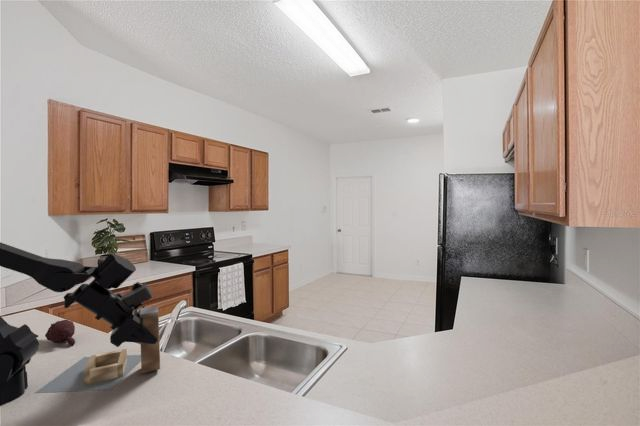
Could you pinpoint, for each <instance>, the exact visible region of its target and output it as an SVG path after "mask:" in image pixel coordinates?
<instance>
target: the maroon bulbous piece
mask: <svg viewBox="0 0 640 426" xmlns="http://www.w3.org/2000/svg"><path fill="white" fill-rule="evenodd" d="M75 330H76V329H75V324H74V321H72V320H69V319H62V320H58V321H55V323H51V324H50V327H48V329H47V332H45V335H44V337H45V338H46V340H47V341H49V342H51V343H56V344H58V343H59V344H61V343H65V342H66V343H67V344H68V345H69V346H71V347H72V346H74V345H75V344H76V340H75V338H74V335H75V333H76V331H75Z"/></svg>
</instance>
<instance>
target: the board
mask: <svg viewBox="0 0 640 426" xmlns="http://www.w3.org/2000/svg"><path fill="white" fill-rule="evenodd" d="M90 357H91V356H84V357H82V358H81V359H80V360H78V361H77V362H75V363H74V364H73V365H71V366H70V367H68V368H67V369H66V370H64V371H63V372H62V373H60V374H59V375H57V376H56V377H55V378H53V379H52V380H50V381H49V382H48V383H46V384H45V385H43V386H42V387H41V388H39V389H38V390H37V391H35V392H34V394H42V393H43V394H44V393H46V394H47V393H65V392H67V393H69V392H89V391H90V392H91V391H92V392H93V391H95V392H96V391H113V389H114V388H115V387H116V386H118V384H119V383H121V382H122V380H124V378H125V377H126V376H128V374H130V373H131V371H133V370H134V369H135V368H136V366H138V364H139V363H140V362H141V354H127V362H126V366H125V371H124V376H121V377H117V378H112V379H108V380H103V381H99V382H95V383H90V384H86V385H84V376H83V372H84V370H85V368H86V366H87V363H88V361H89V359H90Z"/></svg>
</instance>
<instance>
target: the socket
mask: <svg viewBox="0 0 640 426" xmlns="http://www.w3.org/2000/svg"><path fill="white" fill-rule="evenodd" d="M127 355H128V352H127V348H123V349H118V350H114V351H108V352H103V353H97V354H93V355H92V354H91V356H89V357H90V359H89V361H88V363H87V366H86V368H85V370H84V372H83V376H84V385H86V384H90V383H95V382H99V381H103V380H108V379H112V378H117V377H121V376H124V371H125V366H126V362H127Z"/></svg>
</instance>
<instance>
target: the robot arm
mask: <svg viewBox="0 0 640 426" xmlns="http://www.w3.org/2000/svg"><path fill="white" fill-rule="evenodd" d="M0 267H2V268H4V269H8V270H11V271H13V272H17V273H20V274H23V275H26V276H28V277H30V278H32V279H33V280H34V281H35V282H36V283H37V284H38V285H41V286H42V287H44V288H46V289H48V290H50V291H52V292H55V293H64V292H67V293H66V294H65V295H64V296H63V299H64V309H68V308H69V307H70V306H72V305H73V304H74V303H77V304H79V305H80V306H81V307H83V308H84V309H86V310H87V311H89V312H91V313H92V314H94V315H95V317H94V318H95V319H96V320H98V321H100V319H102V320H104V321H105V322H106V323H108V324H110V329H111V330H112V331H111V333H110V336H109V337H110V338H109V341H110V344H112V345H114V346H115V347H117V348H119V347H121V345H122V344H123V343H138V344H139V343H140V344H141V343H149V344H155V343H156V342H157V341H158V340H157V339H156V338H155V336H154V335H152V334H151V333H150V332H149V331H148V330H147V329H146V328H145V327H144V326H143V317H142V318H141V319H140V310H141V308H146V307H145V306H143V305H144V303H145V302H147V301H150V300H151V299H152V298H153V292H152V291H151V289H150V286H149V285H148V283H141V282H140V281H137V282H135V283H133V284H132V285H131V287H132V288H131V290H129V292H127V293H126V294H123V293H121V292H116V293H115V292H114V291H111V290H110V289H118V288H119V287H120V286H122V285H123V284H124V282H126V280H128V278H130V277H131V276H132V275H133V274H134V273H135V272H137V268H136V266H135V265H134V263H133V262H131V261H130V260H129V259H127V258H124V257H122V256H120V255H117V254H115V252H112V253H109V254H108V255H107V256H106V257H105V259H104V260H103V261H102V262H101V263H100V264H98V266H84V265H83V264H82V263H80V262H78V261H71V260H67V259H66V260H65V259H58V258H49V257H44V256H40V255H38V254H35V253H32V252H29V251H26V250H23V249H20V248H18V247H15V246H11V245H9V244H6V243H3V242H1V241H0ZM92 278H94V279H93V280H91V282H89V283H85V282H86V281H88V280H90V279H92ZM80 284H81V285H80ZM78 285H80V286H79V287H77V288H76V289H75V290H74V291H72V292H68V291H70V290H71V289H73V288H75V287H76V286H78ZM139 307H141V308H140V309H139ZM38 337H39V335H38V334H37V333H36V334H35V332H33V331H32V330H31V328H30V326H29V325H27V324H26V323H25V324H23V325H21V326H19V327H17V326H14V325H11V324H9V323H8V322H7V321H6V320H5V319H4V318H3V317H2V316H1V315H0V407H2V406H4V405H5V404H7V403H10V402H13V401H16V400H17V399H19V398H20V397H22V396H23V395H24V394H25V392H26V390H27V389H28V387H29V385H28V371H27V369H26V367H27V366H26V365H27V364H28V365H29V363H30V362H31V360H32V357H34V356H35V355H36V354H37V353H38V351H39V347H40V341H39V340H38Z"/></svg>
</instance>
